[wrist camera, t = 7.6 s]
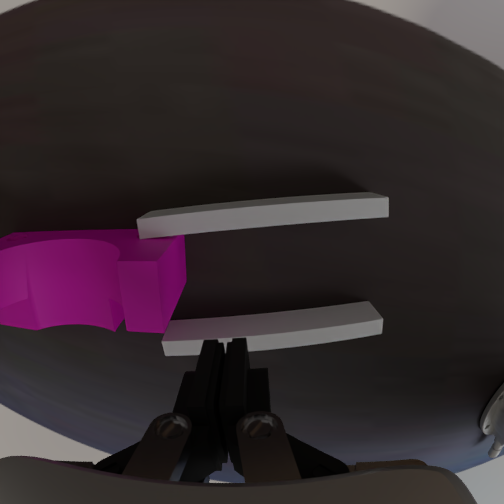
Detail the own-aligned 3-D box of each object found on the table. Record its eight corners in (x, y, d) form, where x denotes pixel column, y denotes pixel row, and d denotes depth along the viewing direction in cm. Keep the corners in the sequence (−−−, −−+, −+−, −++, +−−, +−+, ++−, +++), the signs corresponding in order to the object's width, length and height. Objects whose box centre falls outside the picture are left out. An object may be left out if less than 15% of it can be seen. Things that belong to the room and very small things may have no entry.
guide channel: (367, 314, 23) (381, 333, 20) (173, 334, 23) (165, 356, 20) (370, 192, 21) (388, 197, 18) (150, 211, 21) (136, 219, 18)
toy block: (28, 301, 23) (-21, 342, 15) (15, 231, 21) (-44, 258, 14) (189, 311, 23) (169, 372, 16) (184, 227, 21) (156, 261, 14)
